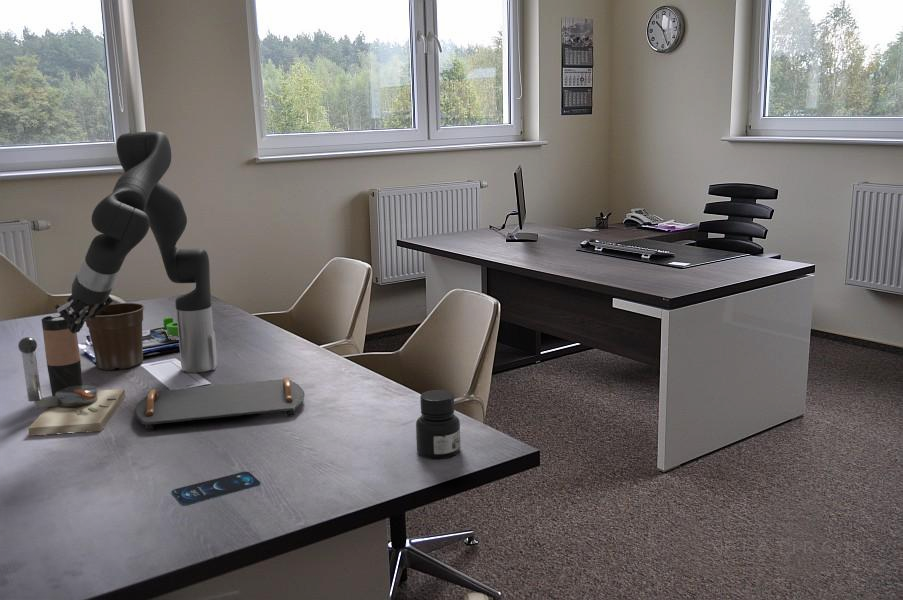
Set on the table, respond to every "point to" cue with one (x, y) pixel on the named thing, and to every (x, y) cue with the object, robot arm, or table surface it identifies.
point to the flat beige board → (79, 415)
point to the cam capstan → (63, 397)
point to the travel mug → (61, 354)
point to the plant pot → (117, 336)
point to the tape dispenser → (170, 326)
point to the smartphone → (215, 487)
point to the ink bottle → (437, 425)
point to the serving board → (219, 401)
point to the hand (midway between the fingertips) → (73, 329)
